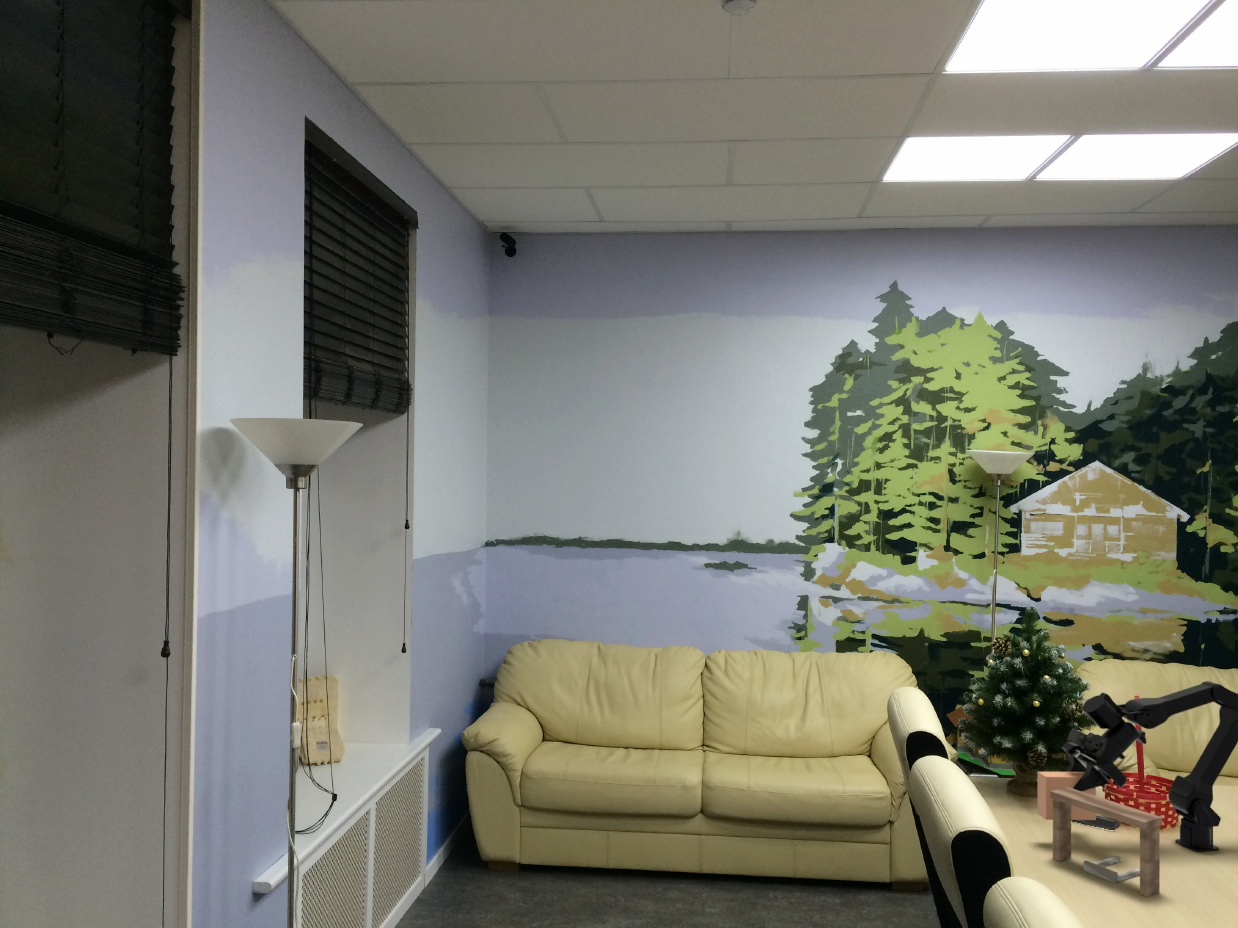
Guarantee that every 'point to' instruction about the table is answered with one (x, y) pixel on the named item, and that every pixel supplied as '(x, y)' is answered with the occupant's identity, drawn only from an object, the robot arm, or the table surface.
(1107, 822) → the phone
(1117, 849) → the table surface
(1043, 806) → the terracotta panel
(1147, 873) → the walnut bridge
